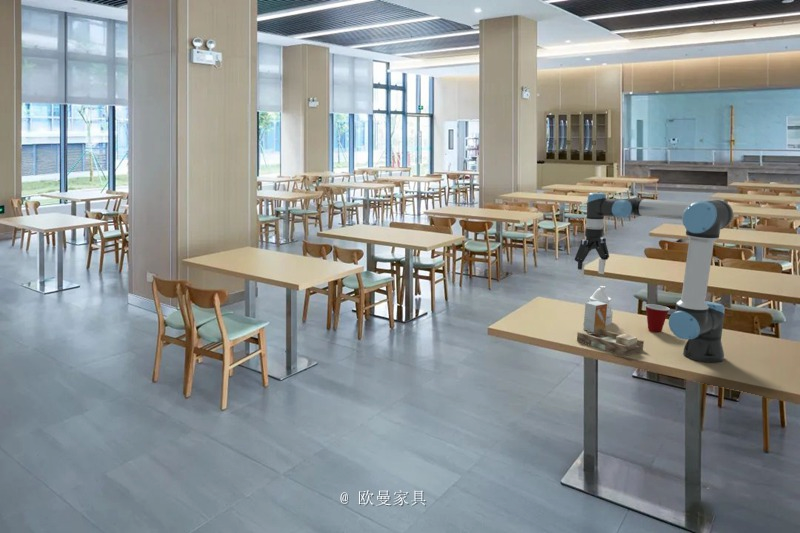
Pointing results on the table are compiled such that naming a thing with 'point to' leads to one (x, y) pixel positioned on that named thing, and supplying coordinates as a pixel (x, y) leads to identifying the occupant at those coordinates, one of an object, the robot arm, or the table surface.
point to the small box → (595, 315)
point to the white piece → (602, 297)
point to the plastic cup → (656, 317)
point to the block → (627, 340)
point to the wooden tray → (608, 342)
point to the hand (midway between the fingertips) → (590, 275)
